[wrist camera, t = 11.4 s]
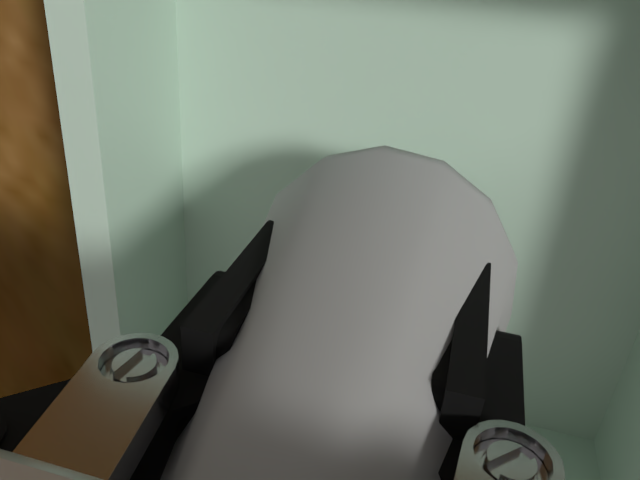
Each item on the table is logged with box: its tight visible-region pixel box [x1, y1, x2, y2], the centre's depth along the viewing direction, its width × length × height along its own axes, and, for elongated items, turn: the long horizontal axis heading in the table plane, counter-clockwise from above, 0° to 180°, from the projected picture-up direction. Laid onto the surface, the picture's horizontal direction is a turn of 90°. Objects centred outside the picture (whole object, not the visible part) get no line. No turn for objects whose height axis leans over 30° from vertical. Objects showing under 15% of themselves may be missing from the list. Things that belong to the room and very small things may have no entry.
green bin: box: [44, 0, 640, 480], centre depth 15 cm, size 16×16×4 cm
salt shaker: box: [160, 145, 518, 480], centre depth 10 cm, size 6×6×13 cm
